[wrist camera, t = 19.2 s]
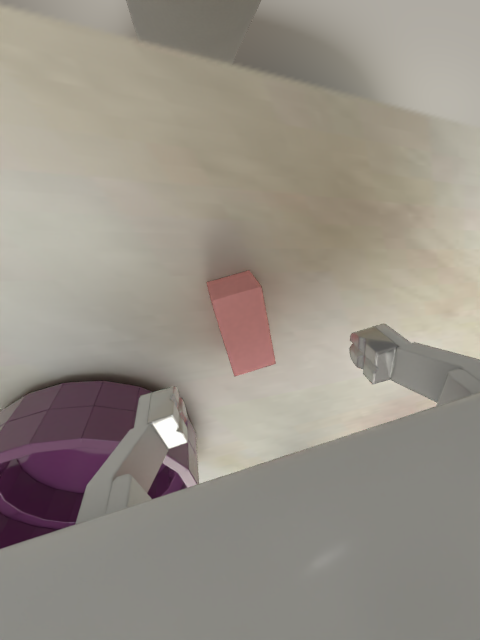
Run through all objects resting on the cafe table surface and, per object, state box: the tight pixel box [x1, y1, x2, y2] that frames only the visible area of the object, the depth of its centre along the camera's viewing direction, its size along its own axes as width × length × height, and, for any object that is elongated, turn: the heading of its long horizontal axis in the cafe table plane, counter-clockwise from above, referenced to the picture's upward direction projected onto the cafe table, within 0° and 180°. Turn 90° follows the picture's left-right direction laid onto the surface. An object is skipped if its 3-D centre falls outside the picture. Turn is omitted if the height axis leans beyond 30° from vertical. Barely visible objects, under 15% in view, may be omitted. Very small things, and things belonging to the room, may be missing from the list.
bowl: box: [0, 381, 199, 549], centre depth 20 cm, size 16×16×6 cm
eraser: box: [207, 270, 276, 376], centre depth 17 cm, size 6×3×3 cm, turn 12°
